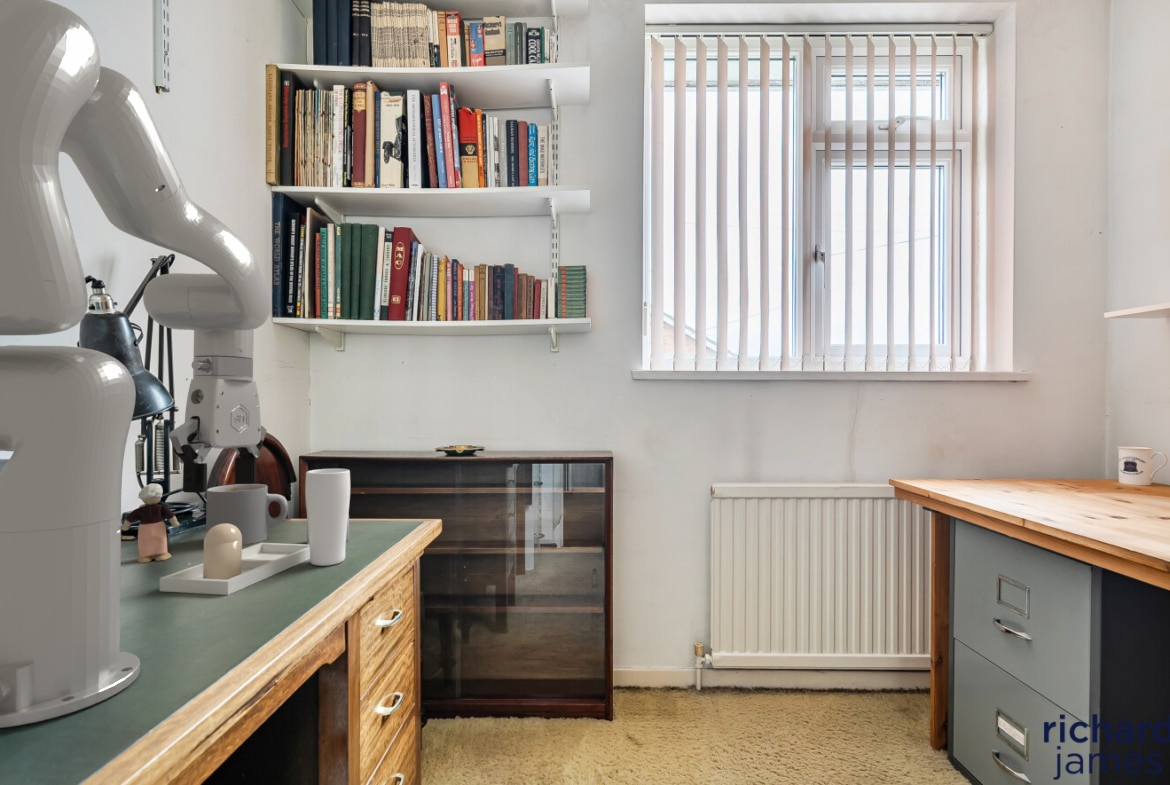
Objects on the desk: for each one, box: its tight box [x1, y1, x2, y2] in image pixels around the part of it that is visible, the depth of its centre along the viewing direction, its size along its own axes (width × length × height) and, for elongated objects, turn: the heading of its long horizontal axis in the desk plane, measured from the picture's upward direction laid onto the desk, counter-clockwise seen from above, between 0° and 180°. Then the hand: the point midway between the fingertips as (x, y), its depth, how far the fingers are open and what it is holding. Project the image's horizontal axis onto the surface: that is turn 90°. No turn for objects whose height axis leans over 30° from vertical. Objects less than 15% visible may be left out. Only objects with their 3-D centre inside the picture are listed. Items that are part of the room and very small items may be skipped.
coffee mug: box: [205, 483, 289, 546], centre depth 112 cm, size 13×10×10 cm
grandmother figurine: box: [121, 483, 180, 564], centre depth 98 cm, size 8×4×13 cm, turn 130°
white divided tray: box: [159, 542, 310, 596], centre depth 91 cm, size 20×11×2 cm, turn 172°
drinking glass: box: [304, 468, 351, 567], centre depth 96 cm, size 7×7×15 cm
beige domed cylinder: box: [202, 523, 243, 580], centre depth 86 cm, size 5×5×8 cm
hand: (221, 487), depth 86 cm, fingers open, 9 cm apart
